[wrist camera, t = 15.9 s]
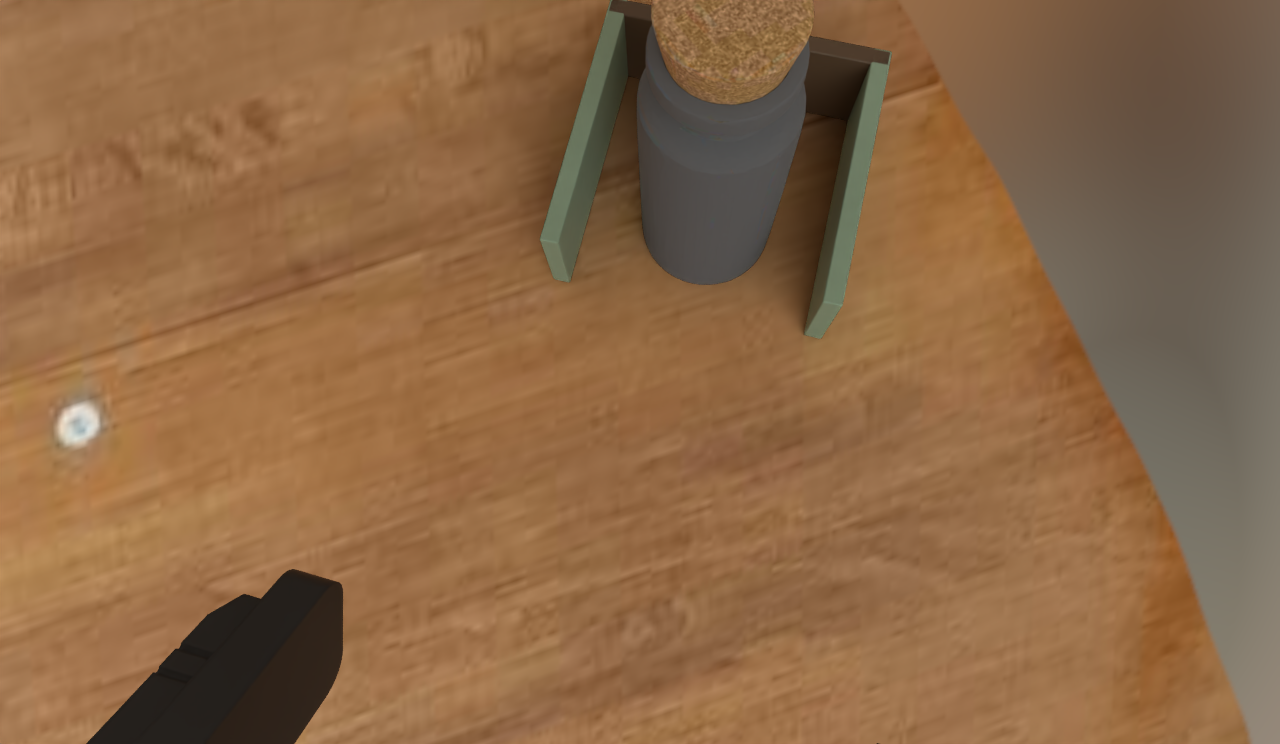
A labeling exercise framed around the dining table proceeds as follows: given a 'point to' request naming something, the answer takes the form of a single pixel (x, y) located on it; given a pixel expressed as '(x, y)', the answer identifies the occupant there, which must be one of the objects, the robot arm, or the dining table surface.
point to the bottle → (718, 129)
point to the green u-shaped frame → (833, 87)
